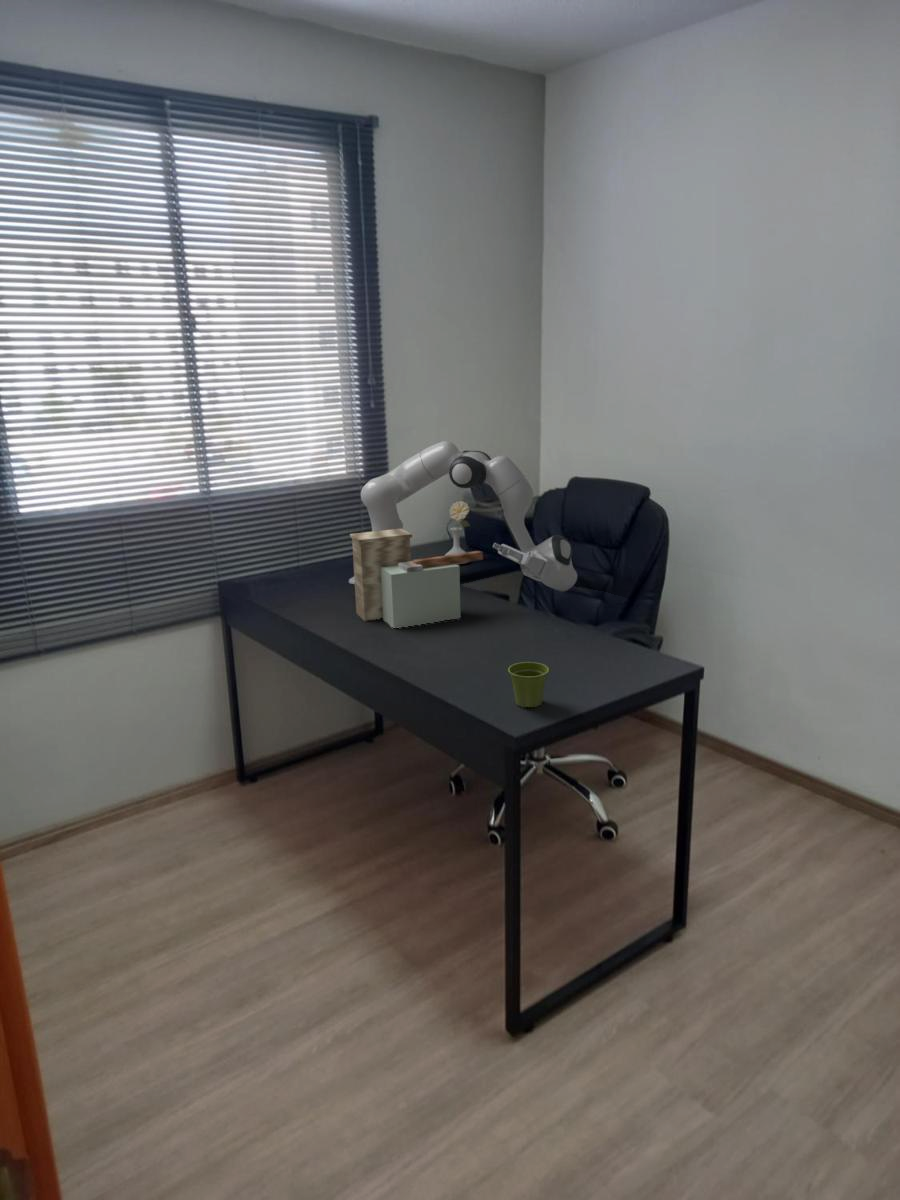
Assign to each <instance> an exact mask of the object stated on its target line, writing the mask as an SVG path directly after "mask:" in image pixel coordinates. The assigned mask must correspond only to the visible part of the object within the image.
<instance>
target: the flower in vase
mask: <svg viewBox="0 0 900 1200" xmlns="http://www.w3.org/2000/svg"><path fill="white" fill-rule="evenodd" d="M469 512H470V507H469V504H468V503H466V502H465V501H462V500H460V501H456V502H453V503H452V505H450V508H449V517H450V519H452V520H453V521H452V520H450V522H451V523H453V524H455V525H457V527H450V528H449V530H450V531H451V533H452V538H453V546H452V548H451V549H450V550H449V551H448V552H446V553H445V554H444V555H443V556H445V555H452V554H459V553H466V552H467V551H465V550H464V549H462V547H461V545H460V536H461V532H462V531H463V528H465V527H470V526H471V525H470V524H469V522H468V521H467V520H464V519H466V518H467V516H468V514H469ZM454 520H455V521H456V522H455V521H454ZM458 521H460V523H459V524H457V522H458ZM460 525H461V526H462V527H463V528H462V527H460ZM467 563H468V562H463V563H456V564H457V565H463V564H467Z"/></svg>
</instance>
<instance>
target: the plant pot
mask: <svg viewBox="0 0 900 1200" xmlns="http://www.w3.org/2000/svg"><path fill="white" fill-rule="evenodd" d="M507 671H508V673H509V675H510V678H511V682H512V688H513V693H514V699H515V704H516V706H518V705H519V706H518V707H520V706H521V707H520V708H523V707H528V708H533V707H535V708H538V707H540V706H541V705H542V703H543V698H544V697H543V695H544V689H545V683H546V682H545V681H546V678H547V675H548V674H549V671H550V669H549V667H548V666H547V665H546V664H544V663H540V662H534V661H533V662H532V661H524V662H517V663H514V664H511V665H510V666H509V667H508V669H507ZM539 705H540V706H539ZM537 706H538V707H537Z"/></svg>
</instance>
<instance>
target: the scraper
mask: <svg viewBox="0 0 900 1200" xmlns="http://www.w3.org/2000/svg"><path fill="white" fill-rule="evenodd" d="M465 552H466V553H459V554H452V555H445V554H444V555H445V556H444V555H440V556H432V557H426V558H417V559H412V560H411V561H409V562H402V563H398V568H399V569H401V570H403V571H405V572H407V573H410V572H416V571H422V568H429V567H436V566H443V565H450V564H456V563H463V562H467V563H470V562H476V561H477V562H478V561H482V560H483V559H484V552H483V551H480V550H474V551H465Z"/></svg>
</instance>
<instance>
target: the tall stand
mask: <svg viewBox="0 0 900 1200" xmlns="http://www.w3.org/2000/svg"><path fill="white" fill-rule="evenodd" d="M349 537H350V538H351V539H352V540H351V544H352V558H353V559H352V561H353V577H354V579H355V584H354V594H355V595H354V596H355V611H356V615H357V616H358V617H360V618H361V620H363V622H368V621H369V620H370V621H374V620H375V621H377V620H381V619H380V618H383V606H382V586H381V567H387V566H395V565H398V563H402V562H409V561H412V557H411V556H412V553H411V549H412V548H411V538H413V534H412V533H410V532H409V531H407V530H405V529H404V528H403V529H392V530H382V531H373V532H372V531H364V532H358V533H357V532H356V533H355V532H354V533H350V534H349ZM376 619H377V620H376ZM370 621H369V622H370Z"/></svg>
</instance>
